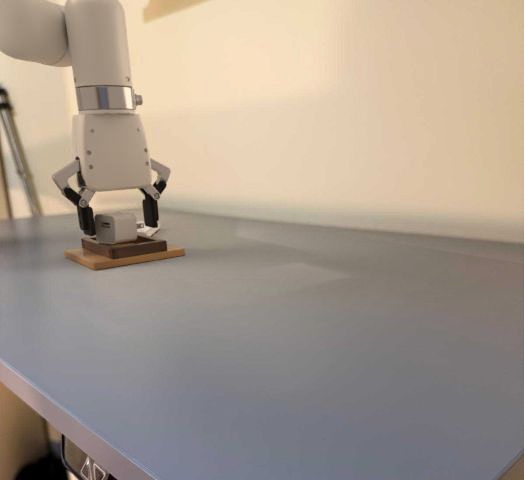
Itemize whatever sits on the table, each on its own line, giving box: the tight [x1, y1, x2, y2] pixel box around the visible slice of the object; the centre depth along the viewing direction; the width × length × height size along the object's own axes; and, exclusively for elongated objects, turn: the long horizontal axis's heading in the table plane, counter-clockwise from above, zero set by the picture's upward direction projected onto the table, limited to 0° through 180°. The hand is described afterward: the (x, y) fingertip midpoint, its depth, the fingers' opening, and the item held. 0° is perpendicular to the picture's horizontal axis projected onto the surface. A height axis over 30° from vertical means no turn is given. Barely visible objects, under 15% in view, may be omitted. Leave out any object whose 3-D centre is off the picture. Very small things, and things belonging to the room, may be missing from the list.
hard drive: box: [136, 220, 161, 237], centre depth 98 cm, size 2×8×12 cm
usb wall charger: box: [94, 211, 144, 244], centre depth 79 cm, size 4×7×4 cm, turn 149°
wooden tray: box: [63, 233, 186, 271], centre depth 80 cm, size 12×14×2 cm
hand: (121, 230), depth 79 cm, fingers open, 9 cm apart
